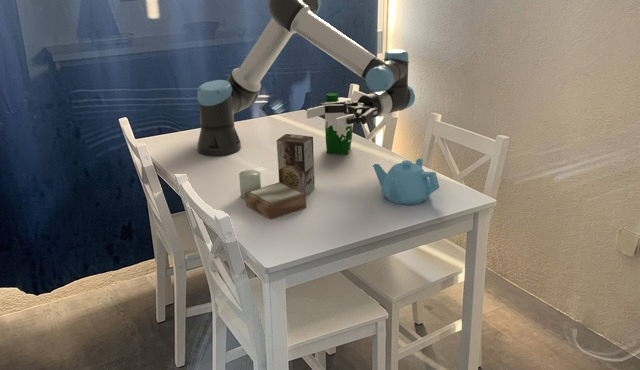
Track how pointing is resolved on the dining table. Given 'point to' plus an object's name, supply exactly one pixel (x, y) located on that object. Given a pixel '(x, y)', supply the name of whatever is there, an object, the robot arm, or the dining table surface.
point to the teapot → (406, 182)
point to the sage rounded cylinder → (249, 181)
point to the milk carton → (337, 129)
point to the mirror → (275, 200)
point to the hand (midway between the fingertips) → (321, 118)
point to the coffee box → (296, 162)
